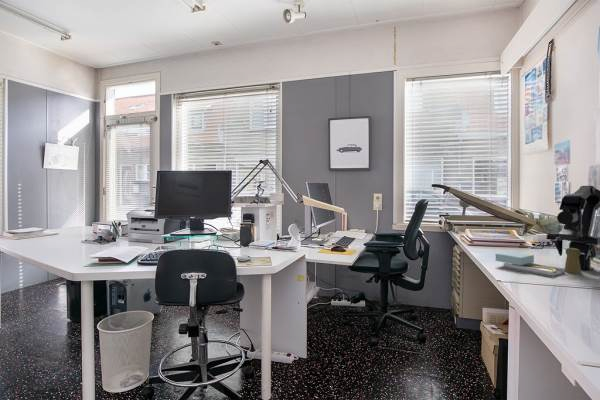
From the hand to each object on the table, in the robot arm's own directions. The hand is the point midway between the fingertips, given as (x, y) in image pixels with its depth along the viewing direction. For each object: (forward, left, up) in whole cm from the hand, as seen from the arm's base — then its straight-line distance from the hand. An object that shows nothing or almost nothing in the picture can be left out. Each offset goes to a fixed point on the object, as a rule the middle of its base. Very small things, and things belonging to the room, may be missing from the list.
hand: (572, 257), depth 148 cm
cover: (+11, -19, -4) cm, 22 cm away
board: (+11, -11, -7) cm, 17 cm away
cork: (0, 0, -7) cm, 7 cm away
